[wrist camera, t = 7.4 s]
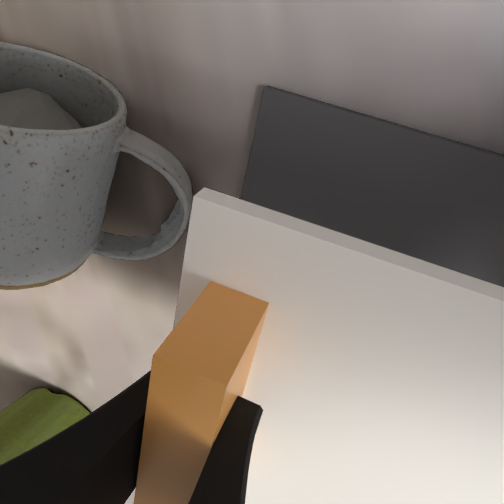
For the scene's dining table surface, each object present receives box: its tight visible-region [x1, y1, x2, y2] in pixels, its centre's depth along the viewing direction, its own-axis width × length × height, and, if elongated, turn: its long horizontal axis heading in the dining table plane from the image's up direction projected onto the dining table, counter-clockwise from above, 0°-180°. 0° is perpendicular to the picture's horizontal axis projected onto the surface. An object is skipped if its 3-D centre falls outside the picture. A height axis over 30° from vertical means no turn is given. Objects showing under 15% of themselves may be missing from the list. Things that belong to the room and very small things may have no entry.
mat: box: [241, 86, 504, 287], centre depth 19 cm, size 17×12×1 cm
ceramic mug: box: [0, 41, 193, 290], centre depth 18 cm, size 11×8×8 cm
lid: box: [134, 187, 504, 504], centre depth 11 cm, size 14×10×4 cm
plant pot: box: [0, 388, 90, 465], centre depth 29 cm, size 12×12×11 cm
